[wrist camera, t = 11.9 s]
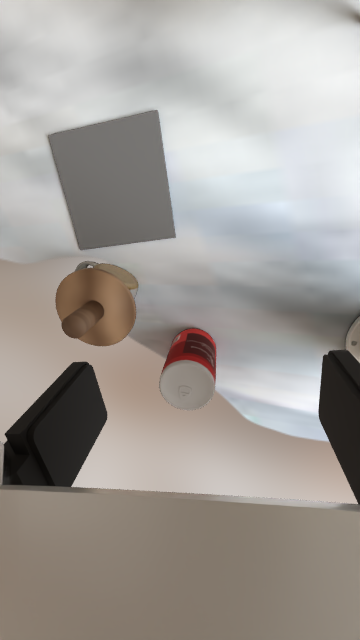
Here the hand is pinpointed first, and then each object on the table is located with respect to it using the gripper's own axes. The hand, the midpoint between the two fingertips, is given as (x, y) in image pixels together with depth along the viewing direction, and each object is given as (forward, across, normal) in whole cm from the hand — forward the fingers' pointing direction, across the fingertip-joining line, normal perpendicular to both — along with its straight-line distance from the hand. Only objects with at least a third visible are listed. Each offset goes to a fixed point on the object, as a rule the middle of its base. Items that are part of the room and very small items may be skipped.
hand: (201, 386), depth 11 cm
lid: (+23, +16, +4) cm, 28 cm away
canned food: (+31, +5, +15) cm, 34 cm away
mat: (+30, +13, -11) cm, 35 cm away
